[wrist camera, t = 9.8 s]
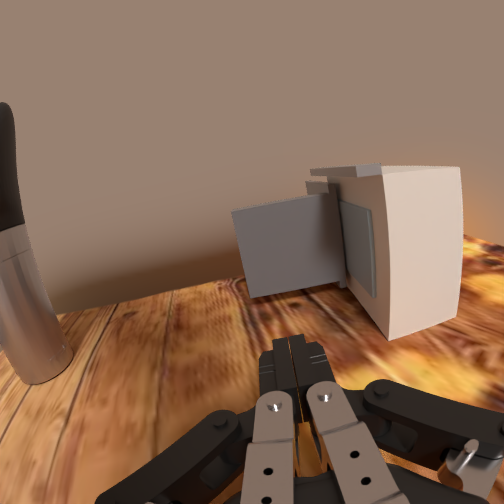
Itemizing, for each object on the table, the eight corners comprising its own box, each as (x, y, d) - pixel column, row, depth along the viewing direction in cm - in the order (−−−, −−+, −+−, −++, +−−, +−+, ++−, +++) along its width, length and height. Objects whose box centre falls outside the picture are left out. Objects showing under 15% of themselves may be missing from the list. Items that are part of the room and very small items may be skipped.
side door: (252, 305, 31) (229, 202, 28) (252, 268, 44) (236, 194, 41) (346, 287, 31) (334, 183, 28) (321, 255, 43) (310, 180, 40)
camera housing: (368, 347, 21) (355, 165, 17) (322, 274, 38) (306, 169, 34) (455, 316, 20) (458, 157, 16) (385, 261, 38) (374, 160, 34)
